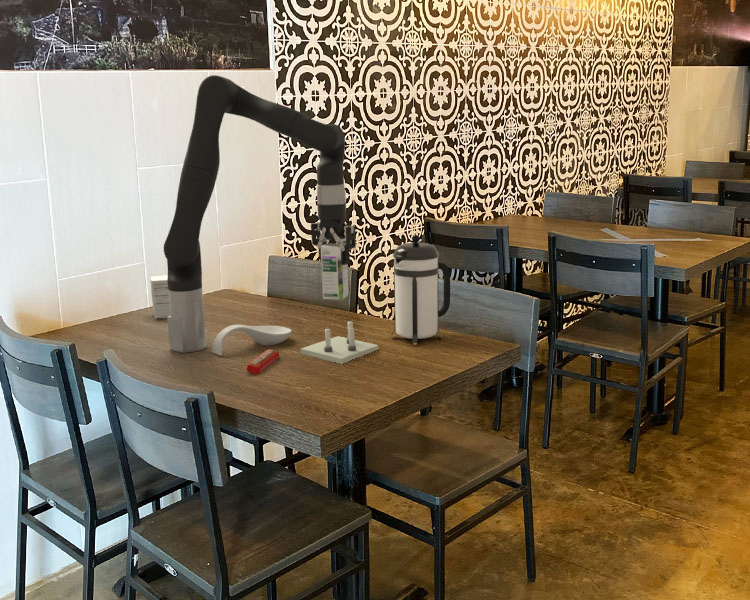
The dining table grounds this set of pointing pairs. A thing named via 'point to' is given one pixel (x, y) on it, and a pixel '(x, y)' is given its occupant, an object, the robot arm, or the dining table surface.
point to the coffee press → (418, 290)
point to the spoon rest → (253, 335)
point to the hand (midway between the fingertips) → (334, 262)
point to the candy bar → (262, 361)
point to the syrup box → (333, 273)
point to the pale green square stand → (339, 347)
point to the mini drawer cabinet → (160, 296)
